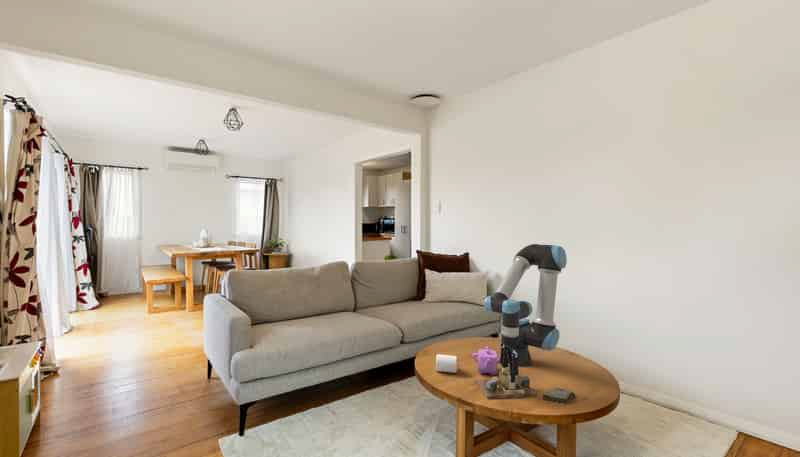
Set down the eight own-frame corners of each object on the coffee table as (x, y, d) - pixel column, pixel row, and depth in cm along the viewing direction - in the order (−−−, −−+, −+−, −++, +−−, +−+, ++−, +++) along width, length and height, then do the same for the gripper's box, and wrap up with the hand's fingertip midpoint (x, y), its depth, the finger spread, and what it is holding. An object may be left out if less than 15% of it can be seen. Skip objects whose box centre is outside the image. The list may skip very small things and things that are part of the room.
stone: (558, 390, 167) (559, 384, 166) (576, 398, 160) (577, 391, 160) (540, 399, 157) (541, 392, 157) (559, 408, 151) (559, 400, 151)
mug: (455, 375, 178) (456, 359, 178) (435, 373, 180) (436, 357, 180) (457, 366, 190) (457, 351, 190) (437, 364, 192) (438, 349, 192)
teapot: (466, 368, 188) (467, 347, 187) (486, 363, 194) (487, 343, 194) (487, 380, 175) (488, 357, 174) (507, 374, 181) (508, 353, 181)
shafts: (526, 383, 169) (526, 375, 169) (533, 390, 163) (533, 381, 163) (481, 385, 165) (482, 377, 165) (487, 392, 159) (487, 383, 159)
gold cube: (511, 383, 169) (511, 370, 169) (517, 389, 163) (517, 375, 163) (498, 383, 168) (499, 370, 168) (504, 389, 162) (505, 376, 162)
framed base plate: (520, 380, 175) (520, 375, 174) (537, 396, 160) (537, 390, 160) (474, 383, 171) (474, 377, 171) (487, 398, 156) (487, 392, 156)
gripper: (493, 328, 174) (491, 376, 174) (511, 342, 155) (509, 395, 156) (508, 328, 175) (506, 375, 176) (528, 341, 156) (526, 395, 157)
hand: (508, 385), depth 166 cm, fingers open, 6 cm apart
